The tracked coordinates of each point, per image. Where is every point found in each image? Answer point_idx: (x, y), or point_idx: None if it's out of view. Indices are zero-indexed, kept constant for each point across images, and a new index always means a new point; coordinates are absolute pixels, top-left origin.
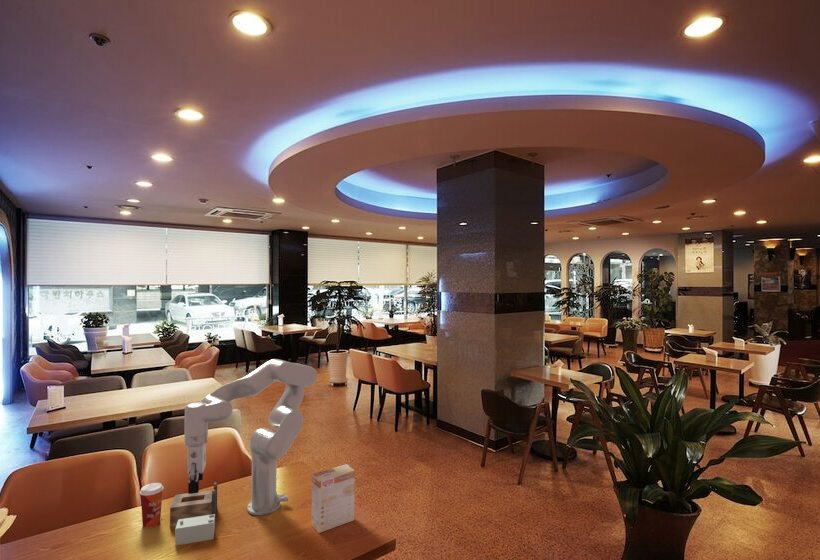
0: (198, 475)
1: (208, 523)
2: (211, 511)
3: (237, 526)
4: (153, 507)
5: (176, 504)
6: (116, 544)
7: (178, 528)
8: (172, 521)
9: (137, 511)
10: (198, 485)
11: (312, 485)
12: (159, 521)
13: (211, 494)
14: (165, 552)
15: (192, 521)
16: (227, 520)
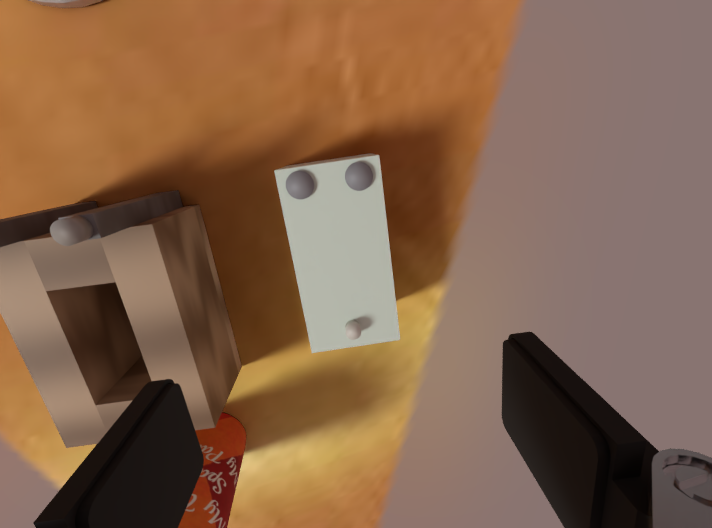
0: (159, 471)
1: (381, 183)
2: (171, 213)
3: (268, 41)
4: (218, 498)
5: None
6: (340, 487)
7: (398, 326)
8: (233, 370)
9: None
10: (588, 385)
11: None
12: None
13: (40, 250)
14: (428, 323)
15: (342, 278)
16: (202, 116)
